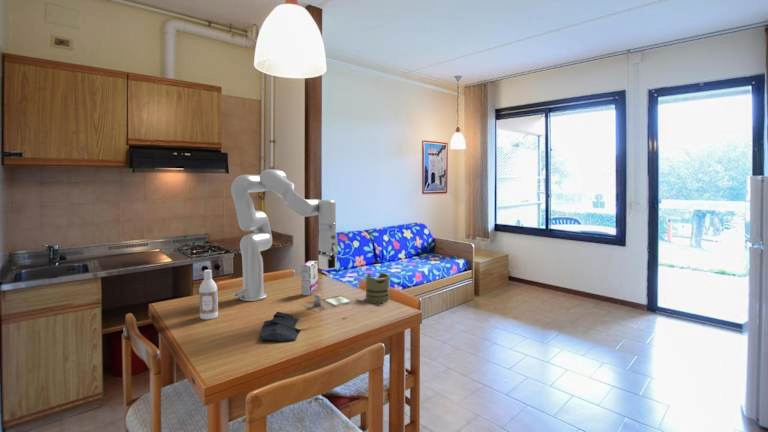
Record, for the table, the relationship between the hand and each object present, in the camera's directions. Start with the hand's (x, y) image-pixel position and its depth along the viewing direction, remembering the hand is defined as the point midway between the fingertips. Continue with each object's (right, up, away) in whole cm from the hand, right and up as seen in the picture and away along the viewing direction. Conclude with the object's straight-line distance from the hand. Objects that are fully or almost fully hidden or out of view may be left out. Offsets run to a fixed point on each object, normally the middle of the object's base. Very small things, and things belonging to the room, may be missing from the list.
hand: (327, 266), depth 177 cm
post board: (0, -19, +2) cm, 19 cm away
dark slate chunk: (-14, -22, -27) cm, 38 cm away
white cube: (0, -1, 0) cm, 1 cm away
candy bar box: (-12, -17, +20) cm, 29 cm away
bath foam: (-48, -20, -13) cm, 54 cm away
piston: (+22, -18, +13) cm, 32 cm away
